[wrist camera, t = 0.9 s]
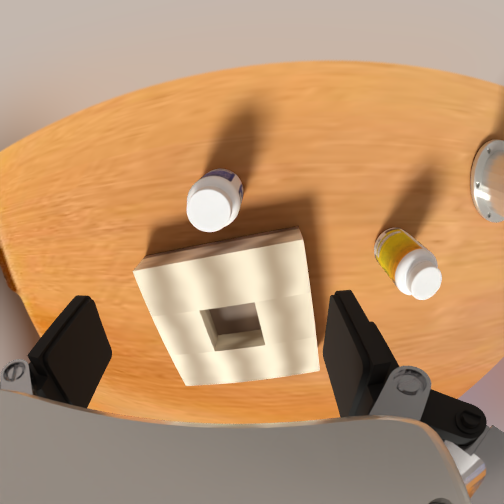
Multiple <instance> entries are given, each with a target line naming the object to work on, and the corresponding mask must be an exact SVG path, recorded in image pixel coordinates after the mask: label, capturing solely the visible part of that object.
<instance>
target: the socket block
mask: <svg viewBox="0 0 504 504" xmlns="http://www.w3.org/2000/svg"><path fill="white" fill-rule="evenodd" d="M133 273H134V276H135V278H136V281H137V283H138V286H139V288H140V291H141V293H142V295H143V298H144V300H145V302H146V305H147V307H148V309H149V312H150V314H151V316H152V318H153V320H154V323H155V325H156V327H157V329H158V331H159V333H160V336H161V338H162V340H163V342H164V344H165V346H166V348H167V350H168V352H169V354H170V356H171V358H172V360H173V362H174V364H175V366H176V368H177V370H178V372H179V373H180V375H181V377H182V379H183V381H184V383H185V385H186V386H193V385H211V384H224V383H235V382H245V381H254V380H263V379H270V378H278V377H284V376H291V375H297V374H303V373H309V372H315V371H320V369H319V358H318V349H317V339H316V330H315V322H314V313H313V305H312V297H311V290H310V282H309V275H308V268H307V261H306V254H305V248H304V241H303V237H302V235H301V232H300V229H299V227H298V226H296V227H291V228H285V229H280V230H275V231H269V232H264V233H259V234H253V235H248V236H243V237H238V238H233V239H227V240H222V241H217V242H212V243H207V244H202V245H197V246H192V247H187V248H182V249H177V250H172V251H167V252H162V253H157V254H152V255H148V256H145V257H144V258H143V259H142V261H141V262H140V263H139V264H138V265H137V267H136V268H135V269H134V270H133Z"/></svg>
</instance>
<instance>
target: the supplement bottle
mask: <svg viewBox="0 0 504 504" xmlns="http://www.w3.org/2000/svg"><path fill="white" fill-rule="evenodd" d="M374 255H375V258H376V260H377V261H378V263H379V264H380V265H381V267H382V268H383V269H384V270H385V272H386V273H387V274H388V276H389V277H390V278H391V279H392V281H393V282H394V283H395V285H396V286H397V287H398V289H399V290H400V291H401V292H403V293H404V294H407V295H413V296H414V297H415V298H416V299H419V300H424V299H428V298H430V297H431V296H433V295H434V294H435V293H436V292H437V290H438V289H439V287H440V284H441V281H442V275H441V272H440V270H439V269H438V265H437V260H436V258H435V256H434V255H433V254H432V253H431V252H430V251H429V250H428V249H427V248H425V247H424V246H423V245H422V244H421V243H420V242H418V241H417V240H416V239H415V238H413V237H412V236H411V235H410V234H408V233H407V232H406V231H404V230H403V229H400V228H390V229H387V230H386V231H384V232H383V233H381V235H380V236H379V237H378V239H377V240H376V243H375V246H374Z"/></svg>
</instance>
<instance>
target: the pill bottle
mask: <svg viewBox="0 0 504 504" xmlns="http://www.w3.org/2000/svg"><path fill="white" fill-rule="evenodd" d="M242 198H243V185H242V182H241V180H240V179H239V177H238V176H237V175H236V174H235V173H233V172H232V171H229V170H227V169H215V170H212V171H210V172H208V173H207V174H205V175H204V176H203V177H202V178H201V179H199V180H198V181H197V182H196V183H195V184H194V185H193V186H192V187H191V189H190V191H189V193H188V197H187V215H188V218H189V220H190V222H191V223H192V225H193V226H195V227H196V228H197V229H199V230H201V231H205V232H215V231H218V230H220V229H222V228H223V227H225V226H227V225H229V224H230V223H231V222H232V221H233V220H234V219H235V218H236V216H237V215H238V213H239V210H240V206H241V202H242Z"/></svg>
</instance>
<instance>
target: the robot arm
mask: <svg viewBox="0 0 504 504" xmlns="http://www.w3.org/2000/svg"><path fill="white" fill-rule="evenodd" d="M470 186H471V195H472V199H473V203H474V205H475V208H476V209H477V211H478V213H479V214H480V215H481V216H482V217H483V218H485V219H486V220H488V221H491V222H496V223H497V222H501V221H503V220H504V141H503V140H497V139H493V140H490V141H488V142H486V143H485V144H484V145H483V146H482V147H481V148H480V149H479V151H478V153H477V154H476V157H475V159H474V162H473V166H472V171H471V184H470ZM28 357H29V359H30V361H31V362H30V363H29V364H28V363H27V362H26V361H25V360H22V359H17V360H13V361H11V362H9V363H8V364H7V365H6V366H5V367H4V368H3V369H2V372H1V375H0V504H504V432H502V431H501V430H499V429H498V428H496V427H495V426H494V425H492V426H491V427H488V426H487V425H486V417H485V415H484V413H483V412H482V411H481V410H480V409H479V408H478V407H476V406H474V405H472V404H469V403H466V402H463V401H460V400H458V399H455V398H452V397H450V396H447V395H445V394H442V393H439V392H437V391H434V390H432V389H431V381H430V378H429V376H428V375H427V374H426V373H425V372H424V371H423V370H421V369H419V368H417V367H413V366H401V367H399V365H398V363H397V361H396V360H395V358H394V356H393V354H392V352H391V351H390V349H389V347H388V345H387V343H386V342H385V340H384V338H383V336H382V335H381V333H380V331H379V330H378V328H377V326H376V325H375V323H374V322H369V320H368V318H367V317H366V315H365V313H364V311H363V310H362V308H361V306H360V305H359V303H358V301H357V299H356V298H355V296H354V294H353V293H352V291H351V290H344V291H336V292H335V295H331V296H330V301H329V309H328V317H327V325H326V332H325V339H324V346H323V357H324V361H325V364H326V368H327V371H328V374H329V378H330V381H331V385H332V388H333V392H334V395H335V399H336V402H337V406H338V409H339V413H340V417H341V418H329V419H320V420H310V421H298V422H282V423H261V424H211V423H190V422H176V421H165V420H155V419H147V418H139V417H132V416H125V415H119V414H113V413H108V412H102V411H97V410H92V409H87V407H88V405H89V403H90V401H91V398H92V396H93V394H94V392H95V390H96V388H97V386H98V384H99V382H100V379H101V377H102V375H103V373H104V371H105V369H106V367H107V365H108V363H109V361H110V359H111V357H112V350H111V347H110V344H109V342H108V339H107V337H106V334H105V331H104V328H103V326H102V323H101V320H100V317H99V314H98V311H97V308H96V305H95V302H94V300H92V299H91V298H90V297H89V296H79V295H78V296H75V297H74V299H73V300H72V301H71V302H70V303H69V304H68V306H67V307H66V308H65V309H64V310H63V311H62V313H61V314H60V315H59V316H58V317H57V319H56V320H55V321H54V322H53V323H52V325H51V326H50V327H49V328H48V330H47V331H46V332H45V333H44V335H43V336H42V337H41V338H40V340H39V341H38V342H37V343H36V345H35V346H34V347H33V349H32V350H31V351H30V353H29V354H28Z"/></svg>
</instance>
